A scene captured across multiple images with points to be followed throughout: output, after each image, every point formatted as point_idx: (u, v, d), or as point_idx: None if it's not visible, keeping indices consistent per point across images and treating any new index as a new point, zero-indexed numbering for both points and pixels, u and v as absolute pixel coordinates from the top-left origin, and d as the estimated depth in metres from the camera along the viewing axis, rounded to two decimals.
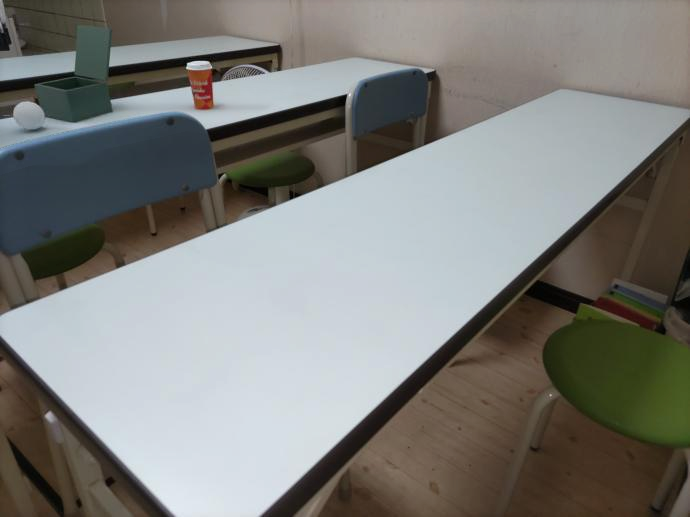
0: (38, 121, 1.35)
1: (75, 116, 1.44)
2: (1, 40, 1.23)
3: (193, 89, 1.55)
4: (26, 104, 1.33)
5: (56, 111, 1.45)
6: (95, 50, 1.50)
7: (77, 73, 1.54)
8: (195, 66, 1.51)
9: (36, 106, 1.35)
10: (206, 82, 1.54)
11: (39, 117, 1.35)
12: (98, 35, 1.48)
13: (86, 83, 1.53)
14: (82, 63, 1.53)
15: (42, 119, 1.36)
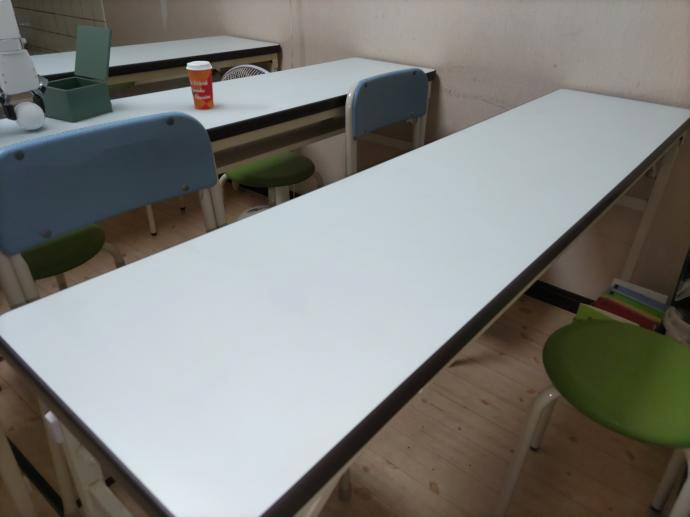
0: (38, 121, 1.35)
1: (75, 116, 1.44)
2: (6, 111, 1.31)
3: (193, 89, 1.55)
4: (26, 104, 1.33)
5: (56, 111, 1.45)
6: (95, 50, 1.50)
7: (77, 73, 1.54)
8: (195, 66, 1.51)
9: (36, 106, 1.35)
10: (206, 82, 1.54)
11: (38, 117, 1.35)
12: (98, 35, 1.48)
13: (86, 83, 1.53)
14: (82, 63, 1.53)
15: (42, 119, 1.36)
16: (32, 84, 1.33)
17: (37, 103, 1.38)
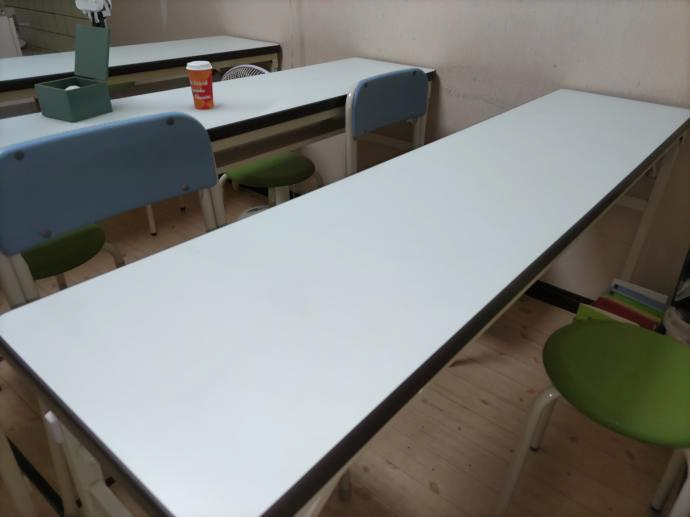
0: None
1: (75, 116, 1.44)
2: None
3: (193, 89, 1.55)
4: (74, 88, 1.46)
5: (56, 111, 1.45)
6: (94, 49, 1.49)
7: (77, 73, 1.54)
8: (195, 66, 1.51)
9: None
10: (206, 82, 1.54)
11: None
12: (97, 35, 1.48)
13: (86, 83, 1.53)
14: (81, 63, 1.52)
15: None
16: None
17: None
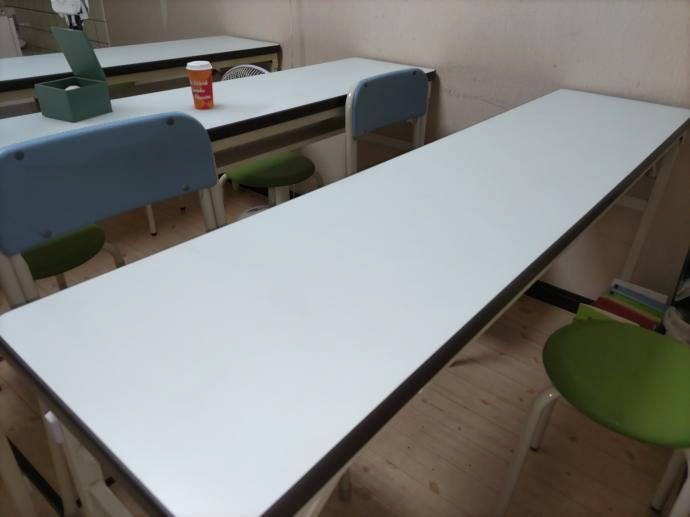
0: None
1: (75, 116, 1.44)
2: None
3: (193, 89, 1.55)
4: (74, 88, 1.46)
5: (56, 111, 1.45)
6: (80, 52, 1.46)
7: (76, 74, 1.54)
8: (195, 66, 1.51)
9: None
10: (206, 82, 1.54)
11: None
12: (75, 38, 1.43)
13: (86, 83, 1.53)
14: (75, 65, 1.51)
15: None
16: None
17: None
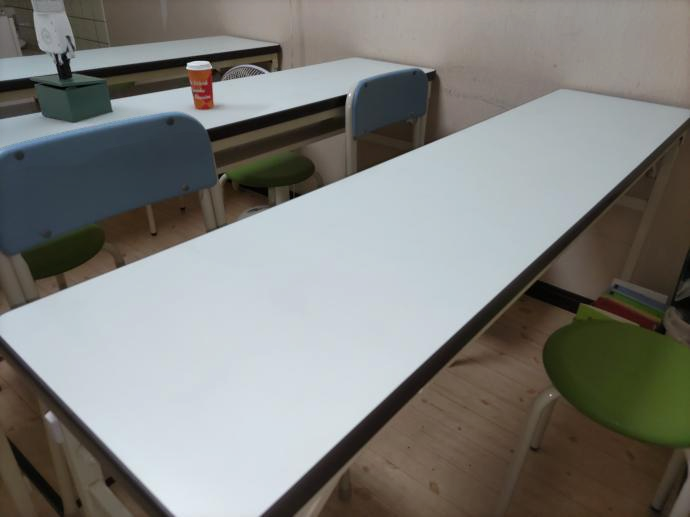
0: None
1: (75, 116, 1.44)
2: (68, 69, 1.44)
3: (193, 89, 1.55)
4: (74, 88, 1.46)
5: (56, 111, 1.45)
6: None
7: None
8: (195, 66, 1.51)
9: None
10: (206, 82, 1.54)
11: None
12: None
13: None
14: None
15: None
16: None
17: None
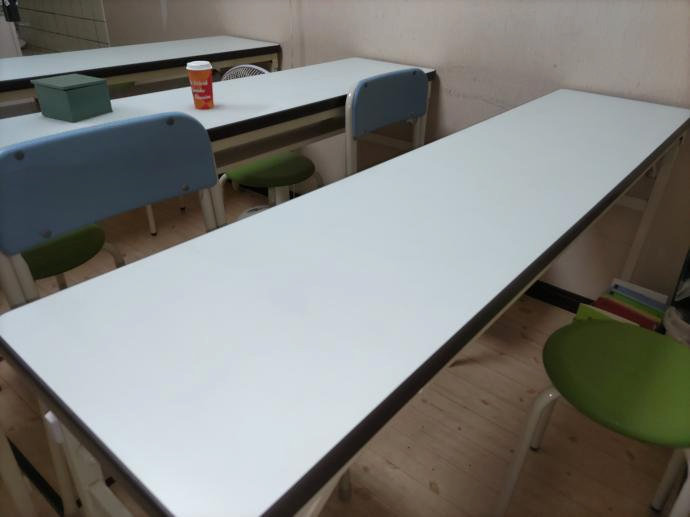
0: None
1: (75, 116, 1.44)
2: (16, 11, 1.35)
3: (193, 89, 1.55)
4: (74, 88, 1.46)
5: (56, 111, 1.45)
6: None
7: None
8: (195, 66, 1.51)
9: None
10: (206, 82, 1.54)
11: None
12: None
13: None
14: None
15: None
16: None
17: None
